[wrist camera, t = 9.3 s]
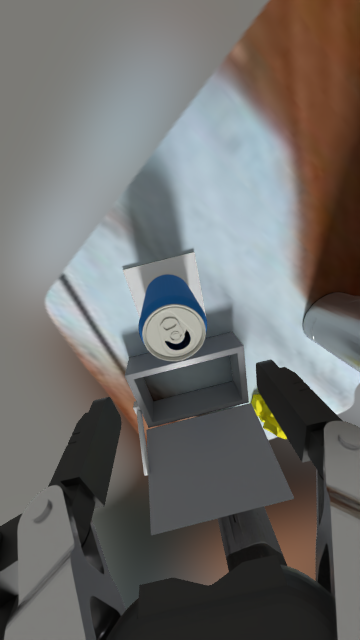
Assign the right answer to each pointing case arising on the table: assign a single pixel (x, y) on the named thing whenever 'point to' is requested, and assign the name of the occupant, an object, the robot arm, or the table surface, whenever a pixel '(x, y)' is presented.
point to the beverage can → (171, 319)
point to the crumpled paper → (266, 416)
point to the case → (203, 444)
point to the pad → (176, 266)
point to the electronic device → (248, 537)
